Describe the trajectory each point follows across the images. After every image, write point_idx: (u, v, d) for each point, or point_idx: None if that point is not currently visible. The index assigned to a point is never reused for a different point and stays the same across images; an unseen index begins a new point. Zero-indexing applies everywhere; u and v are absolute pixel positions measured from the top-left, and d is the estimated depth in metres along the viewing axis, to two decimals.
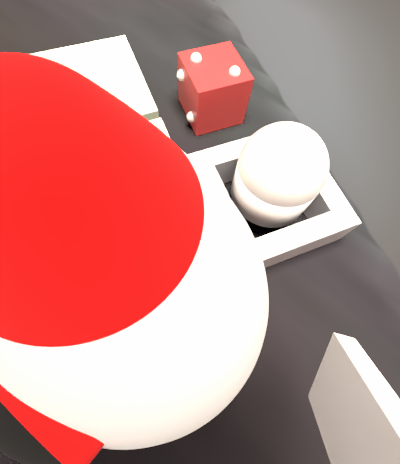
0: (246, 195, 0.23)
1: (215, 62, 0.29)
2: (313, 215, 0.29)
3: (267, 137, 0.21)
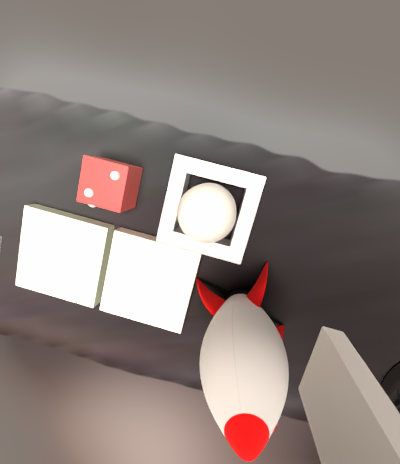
0: None
1: (99, 182, 0.37)
2: None
3: (190, 227, 0.32)
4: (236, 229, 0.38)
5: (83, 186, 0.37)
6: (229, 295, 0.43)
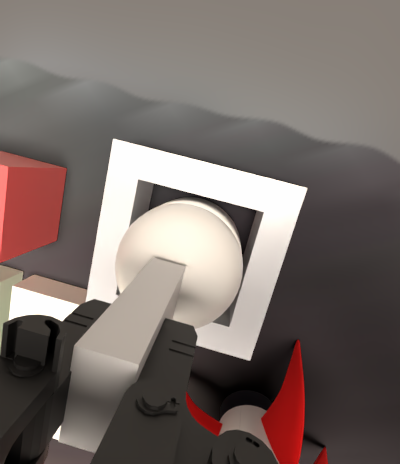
0: None
1: None
2: None
3: None
4: (242, 294, 0.19)
5: None
6: (228, 400, 0.24)
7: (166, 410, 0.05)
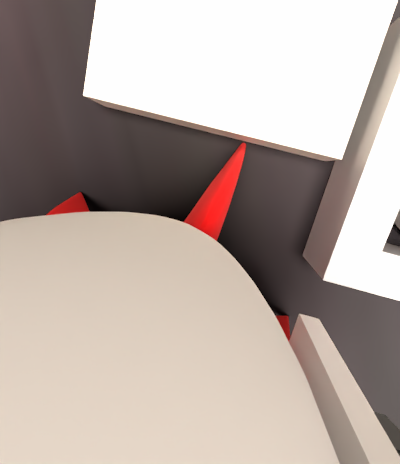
0: None
1: None
2: None
3: None
4: None
5: None
6: None
7: None
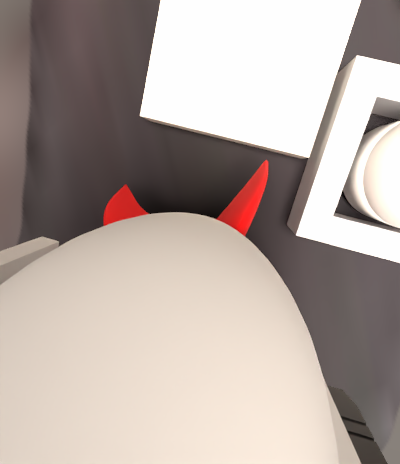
0: (358, 175, 0.19)
1: None
2: None
3: None
4: (367, 227, 0.20)
5: None
6: None
7: None
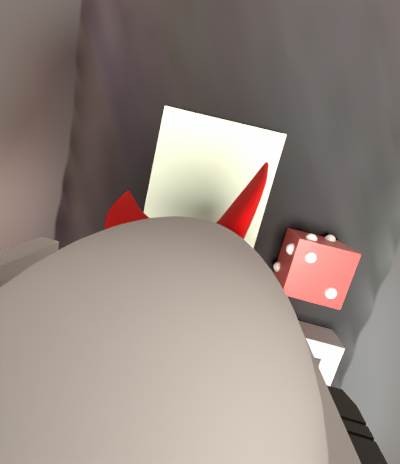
0: None
1: (323, 272, 0.28)
2: None
3: None
4: None
5: (319, 250, 0.28)
6: None
7: None
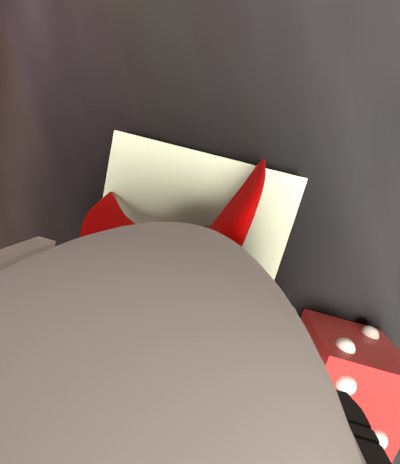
0: None
1: (366, 407, 0.17)
2: None
3: None
4: None
5: (360, 374, 0.17)
6: None
7: None
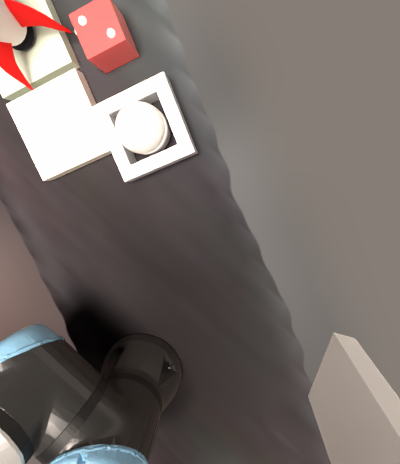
0: None
1: (97, 23, 0.39)
2: None
3: (120, 121, 0.39)
4: (145, 159, 0.44)
5: (83, 12, 0.39)
6: None
7: None
